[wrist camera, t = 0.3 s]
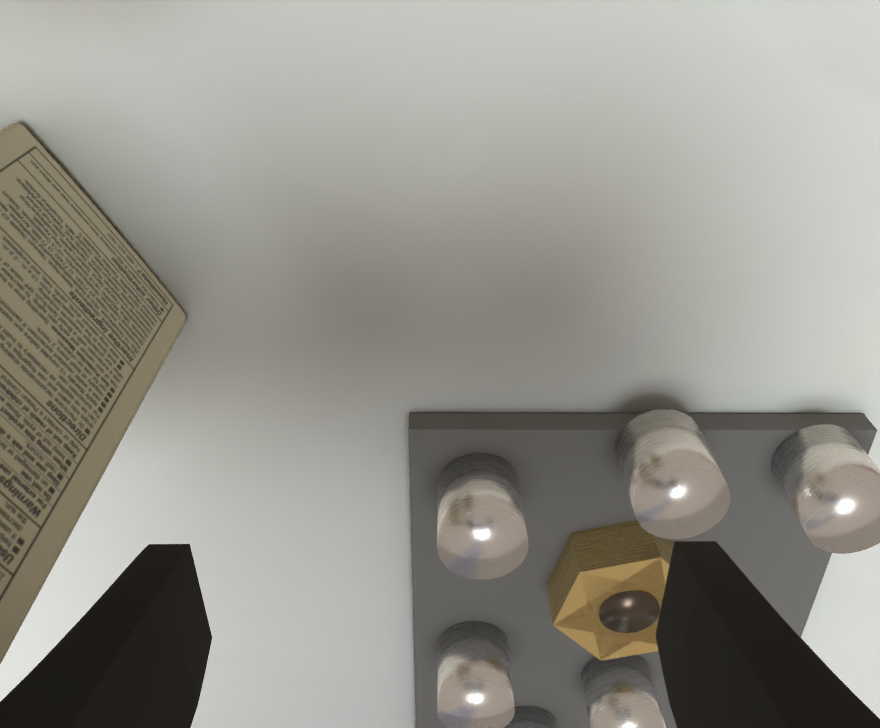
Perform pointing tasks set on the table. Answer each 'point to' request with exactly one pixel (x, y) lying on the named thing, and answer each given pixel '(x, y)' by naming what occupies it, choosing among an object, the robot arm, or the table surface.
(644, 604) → the nut
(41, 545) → the skincare box
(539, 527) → the mat
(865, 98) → the table surface
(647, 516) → the spacers
